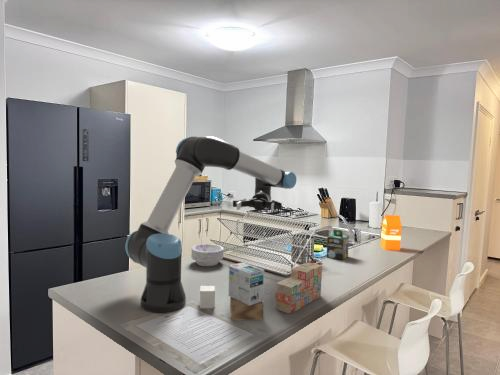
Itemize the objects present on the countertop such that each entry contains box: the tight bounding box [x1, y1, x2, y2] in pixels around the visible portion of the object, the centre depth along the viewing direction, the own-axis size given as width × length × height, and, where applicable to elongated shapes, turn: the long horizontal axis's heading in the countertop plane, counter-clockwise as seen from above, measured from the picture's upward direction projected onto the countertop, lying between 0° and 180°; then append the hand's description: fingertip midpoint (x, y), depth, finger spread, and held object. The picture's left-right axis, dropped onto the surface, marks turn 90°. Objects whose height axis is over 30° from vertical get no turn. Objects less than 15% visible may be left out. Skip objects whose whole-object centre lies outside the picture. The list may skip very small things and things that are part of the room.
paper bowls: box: [190, 243, 225, 267], centre depth 172 cm, size 15×15×8 cm
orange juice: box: [380, 214, 402, 251], centre depth 214 cm, size 8×9×20 cm
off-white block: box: [199, 285, 216, 309], centre depth 124 cm, size 5×5×6 cm
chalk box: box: [326, 229, 350, 261], centre depth 191 cm, size 9×9×15 cm
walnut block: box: [229, 296, 265, 321], centre depth 119 cm, size 10×10×5 cm
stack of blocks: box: [275, 261, 323, 314], centre depth 129 cm, size 21×6×12 cm, turn 141°
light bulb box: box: [228, 261, 265, 306], centre depth 118 cm, size 11×7×11 cm, turn 44°
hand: (254, 207), depth 140 cm, fingers open, 13 cm apart
